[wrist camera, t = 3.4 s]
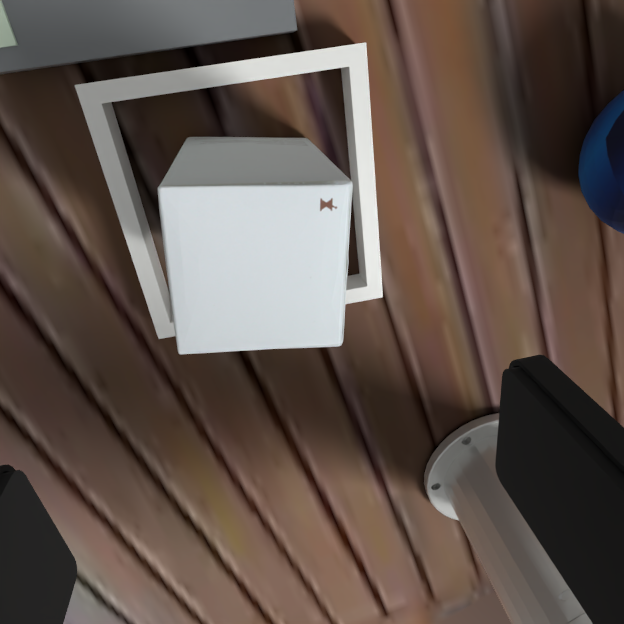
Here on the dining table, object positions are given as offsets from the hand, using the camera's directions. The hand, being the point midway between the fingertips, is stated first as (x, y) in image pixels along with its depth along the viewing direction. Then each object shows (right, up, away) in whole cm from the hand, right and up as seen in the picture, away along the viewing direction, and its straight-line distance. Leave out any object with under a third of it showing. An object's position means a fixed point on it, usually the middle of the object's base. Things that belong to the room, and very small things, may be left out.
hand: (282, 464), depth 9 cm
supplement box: (-3, +10, +21) cm, 23 cm away
